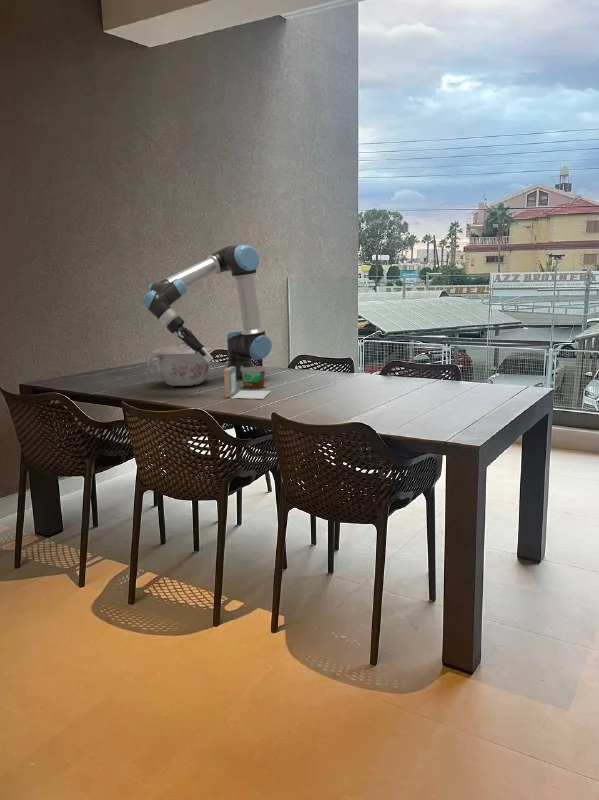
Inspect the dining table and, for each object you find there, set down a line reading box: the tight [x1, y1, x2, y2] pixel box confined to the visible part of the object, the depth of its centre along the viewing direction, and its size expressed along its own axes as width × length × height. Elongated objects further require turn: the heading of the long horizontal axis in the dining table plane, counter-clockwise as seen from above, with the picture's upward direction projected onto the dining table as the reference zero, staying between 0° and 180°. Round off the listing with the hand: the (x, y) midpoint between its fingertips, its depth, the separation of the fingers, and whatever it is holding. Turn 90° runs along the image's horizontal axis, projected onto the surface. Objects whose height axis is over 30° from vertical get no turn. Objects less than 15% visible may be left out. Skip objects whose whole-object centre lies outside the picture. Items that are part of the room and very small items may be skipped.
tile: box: [223, 366, 238, 398], centre depth 277 cm, size 10×2×12 cm, turn 171°
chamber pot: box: [146, 341, 213, 387], centre depth 305 cm, size 28×28×21 cm
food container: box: [240, 365, 267, 389], centre depth 293 cm, size 12×6×10 cm, turn 71°
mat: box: [230, 390, 272, 400], centre depth 277 cm, size 16×14×1 cm
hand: (210, 360), depth 277 cm, fingers closed
